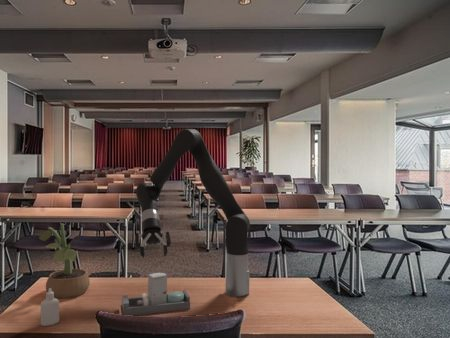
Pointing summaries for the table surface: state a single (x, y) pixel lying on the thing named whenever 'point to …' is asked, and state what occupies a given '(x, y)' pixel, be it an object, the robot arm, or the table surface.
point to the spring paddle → (143, 300)
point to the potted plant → (65, 269)
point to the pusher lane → (133, 309)
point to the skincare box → (157, 288)
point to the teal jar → (175, 297)
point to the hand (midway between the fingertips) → (154, 256)
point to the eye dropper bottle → (49, 309)
